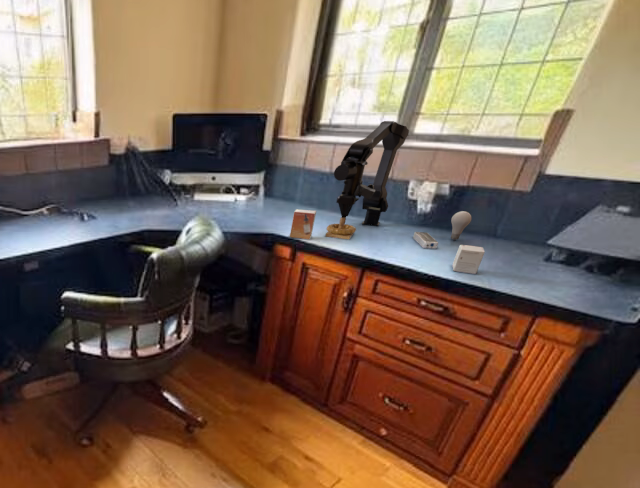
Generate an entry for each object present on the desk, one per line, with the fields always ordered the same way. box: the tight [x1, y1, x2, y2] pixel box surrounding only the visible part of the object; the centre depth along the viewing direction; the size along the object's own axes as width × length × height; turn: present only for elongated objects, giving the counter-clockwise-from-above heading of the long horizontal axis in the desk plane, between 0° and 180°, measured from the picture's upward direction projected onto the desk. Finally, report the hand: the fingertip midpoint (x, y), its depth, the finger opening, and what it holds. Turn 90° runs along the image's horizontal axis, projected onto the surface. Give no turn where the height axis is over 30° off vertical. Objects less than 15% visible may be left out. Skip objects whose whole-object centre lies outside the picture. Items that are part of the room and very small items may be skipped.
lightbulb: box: [450, 210, 472, 241], centre depth 162 cm, size 6×6×11 cm
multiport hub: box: [412, 231, 439, 250], centre depth 162 cm, size 4×14×2 cm, turn 163°
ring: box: [326, 223, 357, 235], centre depth 173 cm, size 11×11×2 cm
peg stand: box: [325, 216, 354, 240], centre depth 172 cm, size 9×9×7 cm
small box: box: [289, 208, 317, 240], centre depth 171 cm, size 8×6×10 cm
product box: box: [452, 244, 486, 275], centre depth 134 cm, size 6×6×7 cm
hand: (344, 217), depth 174 cm, fingers open, 5 cm apart
